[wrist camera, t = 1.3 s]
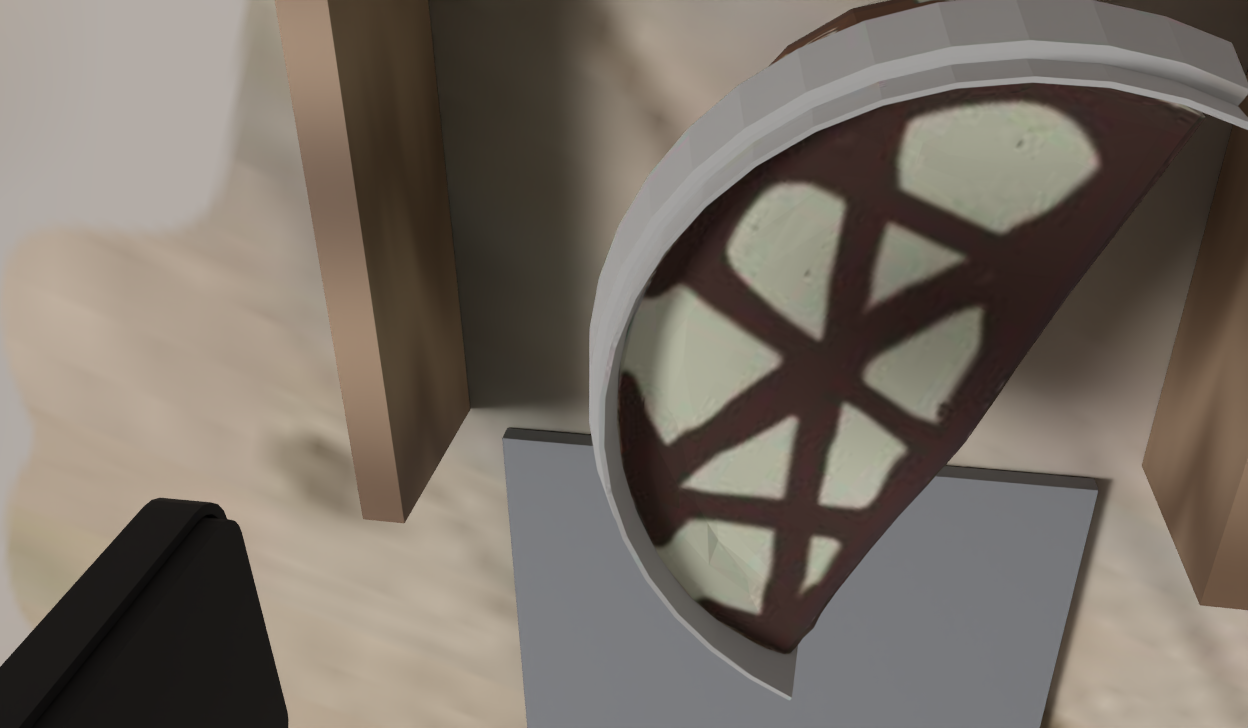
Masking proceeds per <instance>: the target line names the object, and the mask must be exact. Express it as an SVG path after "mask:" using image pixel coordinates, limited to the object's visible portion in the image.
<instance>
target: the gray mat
mask: <svg viewBox="0 0 1248 728" xmlns="http://www.w3.org/2000/svg"><path fill="white" fill-rule="evenodd" d="M502 440H503V452H504V464H505V475H506V487H507V498H508V510H509V521H510V533H511V544H512V556H513V567H514V579H515V591H516V602H517V614H518V625H519V637H520V648H521V660H522V671H523V683H524V694H525V706H526V717H527V728H1040V725H1041V720H1042V716H1043V712H1044V708H1045V704H1046V700H1047V696H1048V692H1049V688H1050V684H1051V680H1052V676H1053V672H1054V668H1055V664H1056V660H1057V656H1058V652H1059V648H1060V644H1061V640H1062V636H1063V632H1064V627H1065V623H1066V619H1067V615H1068V611H1069V607H1070V603H1071V599H1072V595H1073V591H1074V587H1075V583H1076V579H1077V575H1078V571H1079V567H1080V563H1081V559H1082V555H1083V551H1084V547H1085V543H1086V539H1087V534H1088V530H1089V526H1090V522H1091V518H1092V514H1093V510H1094V506H1095V502H1096V498H1097V494H1098V488H1097V485H1096V482H1095V479H1092V478H1081V477H1069V476H1058V475H1046V474H1034V473H1023V472H1011V471H999V470H988V469H976V468H965V467H953V466H944V467H943V468H942V469H941V470H940V472H939V473H938V474H937V475H936V476H935V477H934V478H933V480H932V481H931V482H930V483H929V484H928V485H927V486H926V488H925V489H924V490H923V491H922V492H921V493H920V494H919V495H918V496H917V497H916V498H915V499H914V500H913V502H912V503H911V504H910V505H909V506H908V507H907V508H906V509H905V510H904V511H903V512H902V513H901V514H900V516H899V517H898V518H897V519H896V520H895V521H894V522H893V524H892V525H891V526H890V527H889V528H888V529H887V531H886V532H885V533H884V534H883V535H882V536H881V538H880V539H879V540H878V541H877V542H876V544H875V545H874V546H873V547H872V548H871V549H870V551H869V552H868V553H867V554H866V556H865V557H864V558H863V559H862V561H861V562H860V563H859V564H858V566H857V567H856V568H855V569H854V571H853V572H852V573H851V574H850V576H849V577H848V578H847V579H846V581H845V582H844V583H843V584H842V586H841V587H840V588H839V589H838V591H837V592H836V593H835V595H834V596H833V597H832V599H831V600H830V602H829V603H828V605H827V606H826V607H825V609H824V610H823V612H822V613H821V615H820V617H819V619H818V621H817V623H816V625H815V627H814V628H813V629H812V630H811V631H810V632H809V633H808V634H807V635H806V636H805V637H804V638H803V639H802V640H801V642H800V643H799V644H798V651H797V659H796V668H795V676H794V685H793V693H792V698H791V700H790V701H789V700H787V699H785V698H784V697H782V696H780V695H778V694H776V693H774V692H773V691H771V690H769V689H767V688H765V687H763V686H762V685H760V684H758V683H756V682H754V681H753V680H751V679H749V678H748V677H746V676H745V675H743V674H742V673H741V672H739V671H738V670H736V669H735V668H734V667H732V666H731V665H729V664H728V663H727V662H725V661H724V660H722V659H721V658H720V657H718V656H717V655H716V654H714V653H713V652H711V651H710V650H709V649H708V648H707V647H706V646H705V645H704V644H702V643H701V642H700V641H699V640H698V639H697V638H696V637H695V636H694V635H693V634H692V633H691V632H690V631H689V630H688V629H687V628H686V627H685V626H684V625H682V624H681V623H680V622H679V621H678V620H677V619H676V618H675V617H674V616H673V614H672V613H671V612H670V611H669V609H668V608H667V607H666V605H665V604H664V603H663V602H662V600H661V599H660V598H659V597H658V595H657V594H656V593H655V591H654V590H653V589H652V588H651V586H650V585H649V584H648V583H647V581H646V580H645V578H644V576H643V575H642V573H641V571H640V569H639V567H638V566H637V564H636V562H635V560H634V559H633V557H632V555H631V553H630V551H629V550H628V548H627V546H626V544H625V542H624V541H623V539H622V536H621V533H620V530H619V528H618V525H617V522H616V520H615V518H614V516H613V514H612V511H611V508H610V505H609V502H608V499H607V497H606V494H605V491H604V488H603V485H602V482H601V480H600V477H599V474H598V471H597V466H596V460H595V454H594V448H593V442H592V436H591V435H581V434H570V433H558V432H547V431H535V430H523V429H512V428H507V430H506V432H505V434H504V436H503V438H502Z"/></svg>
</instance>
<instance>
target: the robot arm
mask: <svg viewBox="0 0 1248 728" xmlns="http://www.w3.org/2000/svg"><path fill="white" fill-rule="evenodd" d="M0 728H288V713H287V709H286V705H285V701H284V697H283V693H282V689H281V685H280V681H279V677H278V673H277V669H276V665H275V661H274V657H273V654H272V650H271V646H270V642H269V638H268V634H267V630H266V626H265V622H264V618H263V614H262V610H261V606H260V602H259V598H258V595H257V591H256V587H255V583H254V579H253V575H252V571H251V567H250V563H249V559H248V555H247V551H246V547H245V543H244V539H243V536H242V532H241V529H240V527H239V525H238V524H237V523H236V522H235V521H233V520H227V518H226V515H225V513H224V510H223V509H222V508H221V507H220V506H219V505H218V504H214V503H210V502H199V501H189V500H178V499H168V498H157V499H154V500H151V501H150V502H149V503H148V504H146V505H145V506H144V507H143V508H142V509H141V510H140V511H139V513H138V514H137V515H136V516H135V517H134V518H133V519H132V520H131V521H130V523H129V524H128V525H127V526H126V527H125V528H124V529H123V530H122V532H121V533H120V534H119V535H118V536H117V537H116V538H115V539H114V540H113V542H112V543H111V544H110V545H109V546H108V547H107V548H106V549H105V550H104V552H103V553H102V554H101V555H100V556H99V557H98V558H97V559H96V561H95V562H94V563H93V564H92V565H91V566H90V567H89V568H88V569H87V571H86V572H85V573H84V574H83V575H82V576H81V577H80V578H79V580H78V581H77V582H76V583H75V584H74V585H73V586H72V587H71V588H70V590H69V591H68V592H67V593H66V594H65V595H64V596H63V597H62V599H61V600H60V601H59V602H58V603H57V604H56V605H55V606H54V607H53V609H52V610H51V611H50V612H49V613H48V614H47V615H46V616H45V618H44V619H43V620H42V621H41V622H40V623H39V624H38V625H37V626H36V628H35V629H34V630H33V631H32V632H31V633H30V634H29V635H28V637H27V638H26V639H25V640H24V641H23V642H22V643H21V644H20V646H19V647H18V648H17V649H16V650H15V651H14V652H13V653H12V654H11V656H10V657H9V658H8V659H7V660H6V661H5V662H4V663H3V664H2V666H1V667H0Z"/></svg>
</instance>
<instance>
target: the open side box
mask: <svg viewBox="0 0 1248 728" xmlns="http://www.w3.org/2000/svg"><path fill="white" fill-rule="evenodd" d="M275 5H276V11H277V17H278V23H279V28H280V34H281V40H282V46H283V52H284V58H285V64H286V69H287V75H288V81H289V87H290V93H291V99H292V105H293V111H294V116H295V122H296V128H297V134H298V140H299V146H300V152H301V157H302V163H303V169H304V175H305V181H306V187H307V193H308V198H309V204H310V210H311V216H312V222H313V228H314V234H315V240H316V245H317V251H318V257H319V263H320V269H321V275H322V281H323V286H324V292H325V298H326V304H327V310H328V316H329V322H330V328H331V333H332V339H333V345H334V351H335V357H336V363H337V369H338V374H339V380H340V386H341V392H342V398H343V404H344V410H345V416H346V421H347V427H348V433H349V439H350V445H351V451H352V457H353V462H354V468H355V474H356V480H357V486H358V492H359V498H360V504H361V509H362V515H363V519H368V520H377V521H387V522H397V523H405V521H406V520H407V518H408V516H409V514H410V513H411V511H412V509H413V507H414V506H415V504H416V502H417V501H418V499H419V497H420V495H421V494H422V492H423V490H424V488H425V487H426V485H427V483H428V482H429V480H430V478H431V476H432V475H433V473H434V471H435V469H436V468H437V466H438V464H439V463H440V461H441V459H442V457H443V456H444V454H445V452H446V450H447V449H448V447H449V445H450V443H451V442H452V440H453V438H454V437H455V435H456V433H457V431H458V430H459V428H460V426H461V424H462V423H463V421H464V419H465V418H466V416H467V414H468V412H469V411H470V402H469V393H468V383H467V373H466V363H465V354H464V344H463V334H462V324H461V315H460V305H459V295H458V285H457V276H456V266H455V256H454V246H453V237H452V227H451V217H450V207H449V198H448V188H447V178H446V168H445V159H444V149H443V139H442V129H441V120H440V110H439V100H438V90H437V81H436V71H435V61H434V51H433V42H432V32H431V22H430V12H429V3H428V0H275ZM1246 79H1247V81H1248V71H1247V75H1246ZM1238 107H1239V108H1240V109H1241V110H1242V111H1243V113H1244V114H1245V115H1246V116H1247V117H1248V95H1247V96H1246V97H1245V99H1244V100H1243V101H1242V102H1241V103H1240V104H1239V105H1238ZM1142 467H1143V470H1144V472H1145V474H1146V477H1147V479H1148V482H1149V484H1150V486H1151V489H1152V491H1153V494H1154V496H1155V498H1156V501H1157V503H1158V506H1159V508H1160V510H1161V513H1162V515H1163V518H1164V520H1165V522H1166V525H1167V527H1168V530H1169V532H1170V534H1171V537H1172V539H1173V542H1174V544H1175V546H1176V549H1177V551H1178V554H1179V556H1180V558H1181V561H1182V563H1183V566H1184V568H1185V570H1186V573H1187V575H1188V578H1189V580H1190V582H1191V585H1192V587H1193V590H1194V592H1195V594H1196V597H1197V599H1198V602H1199V604H1200V605H1204V606H1213V607H1223V608H1233V609H1242V610H1248V130H1246V129H1244V128H1241V127H1239V126H1236V125H1234V124H1233V127H1232V131H1231V135H1230V138H1229V142H1228V146H1227V150H1226V153H1225V157H1224V161H1223V165H1222V168H1221V172H1220V176H1219V179H1218V183H1217V187H1216V191H1215V194H1214V198H1213V202H1212V206H1211V209H1210V213H1209V217H1208V221H1207V224H1206V228H1205V232H1204V235H1203V239H1202V243H1201V247H1200V250H1199V254H1198V258H1197V262H1196V265H1195V269H1194V273H1193V276H1192V280H1191V284H1190V288H1189V291H1188V295H1187V299H1186V303H1185V306H1184V310H1183V314H1182V318H1181V321H1180V325H1179V329H1178V332H1177V336H1176V340H1175V344H1174V347H1173V351H1172V355H1171V359H1170V362H1169V366H1168V370H1167V373H1166V377H1165V381H1164V385H1163V388H1162V392H1161V396H1160V400H1159V403H1158V407H1157V411H1156V415H1155V418H1154V422H1153V426H1152V429H1151V433H1150V437H1149V441H1148V444H1147V448H1146V452H1145V456H1144V459H1143V463H1142Z"/></svg>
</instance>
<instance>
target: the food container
mask: <svg viewBox="0 0 1248 728" xmlns="http://www.w3.org/2000/svg"><path fill="white" fill-rule="evenodd" d="M1247 95H1248V81H1247V79H1246V76H1245V74H1244V71H1243V69H1242V66H1241V64H1240V61H1239V59H1238V56H1237V54H1236V51H1235V49H1234V46H1233V44H1232V43H1231V42H1229V41H1226V40H1224V39H1221V38H1219V37H1216V36H1214V35H1211V34H1209V33H1206V32H1204V31H1201V30H1199V29H1196V28H1194V27H1191V26H1189V25H1186V24H1184V23H1181V22H1179V21H1176V20H1174V19H1171V18H1169V17H1166V16H1162V15H1158V14H1153V13H1149V12H1144V11H1140V10H1135V9H1131V8H1126V7H1122V6H1117V5H1113V4H1109V3H1104V2H1100V1H1095V0H889V1H885V2H880V3H876V4H871V5H867V6H862V7H858V8H853V9H851V10H849V11H847V12H846V13H844V14H842V15H840V16H839V17H837V18H835V19H833V20H832V21H830V22H828V23H826V24H825V25H823V26H821V27H820V28H818V29H816V30H814V31H813V32H811V33H809V34H807V35H806V36H804V37H802V38H801V39H799V40H797V41H795V42H794V43H792V44H790V45H788V46H787V47H786V48H785V50H784V51H783V52H782V53H781V54H780V55H779V56H778V57H777V58H776V59H775V60H774V61H773V62H772V63H771V64H770V65H769V67H767V68H766V69H764V70H762V71H761V72H759V73H757V74H756V75H754V76H753V77H751V78H749V79H748V80H746V81H744V82H743V83H741V84H740V85H738V86H737V87H736V88H734V89H733V90H732V91H731V92H730V93H729V94H727V95H726V96H725V97H724V98H723V99H722V100H720V101H719V102H718V103H717V104H716V105H715V106H713V107H712V108H711V109H710V110H709V111H708V112H706V113H705V114H704V115H703V116H702V117H701V118H699V119H698V120H697V121H696V122H695V123H694V124H692V125H691V126H690V127H689V128H688V129H687V130H686V131H685V132H684V134H683V135H682V136H681V137H680V138H679V139H678V141H677V142H676V143H675V144H674V145H673V147H672V148H671V149H670V150H669V151H668V153H667V154H666V155H665V156H664V157H663V158H662V160H661V161H660V162H659V163H658V164H657V166H656V167H655V168H654V169H653V170H652V171H651V173H650V174H649V175H648V177H647V178H646V180H645V182H644V183H643V185H642V187H641V188H640V190H639V192H638V193H637V195H636V197H635V199H634V200H633V202H632V204H631V205H630V207H629V209H628V210H627V212H626V214H625V216H624V217H623V219H622V221H621V222H620V224H619V226H618V228H617V231H616V234H615V236H614V239H613V242H612V244H611V247H610V250H609V252H608V255H607V258H606V260H605V263H604V266H603V268H602V271H601V274H600V276H599V280H598V286H597V291H596V297H595V302H594V307H593V313H592V318H591V324H590V342H589V424H590V430H591V436H592V442H593V448H594V454H595V460H596V466H597V471H598V474H599V477H600V480H601V482H602V485H603V488H604V491H605V494H606V497H607V499H608V502H609V505H610V508H611V511H612V514H613V516H614V518H615V520H616V522H617V525H618V528H619V530H620V533H621V536H622V539H623V541H624V542H625V544H626V546H627V548H628V550H629V551H630V553H631V555H632V557H633V559H634V560H635V562H636V564H637V566H638V567H639V569H640V571H641V573H642V575H643V576H644V578H645V580H646V581H647V583H648V584H649V585H650V586H651V588H652V589H653V590H654V591H655V593H656V594H657V595H658V597H659V598H660V599H661V600H662V602H663V603H664V604H665V605H666V607H667V608H668V609H669V611H670V612H671V613H672V614H673V616H674V617H675V618H676V619H677V620H678V621H679V622H680V623H681V624H682V625H684V626H685V627H686V628H687V629H688V630H689V631H690V632H691V633H692V634H693V635H694V636H695V637H696V638H697V639H698V640H699V641H700V642H701V643H702V644H704V645H705V646H706V647H707V648H708V649H709V650H710V651H711V652H713V653H714V654H716V655H717V656H718V657H720V658H721V659H722V660H724V661H725V662H727V663H728V664H729V665H731V666H732V667H734V668H735V669H736V670H738V671H739V672H741V673H742V674H743V675H745V676H746V677H748V678H749V679H751V680H753V681H754V682H756V683H758V684H760V685H762V686H763V687H765V688H767V689H769V690H771V691H773V692H774V693H776V694H778V695H780V696H782V697H784V698H785V699H787V700H789V701H790V700H791V698H792V693H793V685H794V676H795V668H796V659H797V651H798V644H799V643H800V642H801V640H802V639H803V638H804V637H805V636H806V635H807V634H808V633H809V632H810V631H811V630H812V629H813V628H814V627H815V625H816V623H817V621H818V619H819V617H820V615H821V613H822V612H823V610H824V609H825V607H826V606H827V605H828V603H829V602H830V600H831V599H832V597H833V596H834V595H835V593H836V592H837V591H838V589H839V588H840V587H841V586H842V584H843V583H844V582H845V581H846V579H847V578H848V577H849V576H850V574H851V573H852V572H853V571H854V569H855V568H856V567H857V566H858V564H859V563H860V562H861V561H862V559H863V558H864V557H865V556H866V554H867V553H868V552H869V551H870V549H871V548H872V547H873V546H874V545H875V544H876V542H877V541H878V540H879V539H880V538H881V536H882V535H883V534H884V533H885V532H886V531H887V529H888V528H889V527H890V526H891V525H892V524H893V522H894V521H895V520H896V519H897V518H898V517H899V516H900V514H901V513H902V512H903V511H904V510H905V509H906V508H907V507H908V506H909V505H910V504H911V503H912V502H913V500H914V499H915V498H916V497H917V496H918V495H919V494H920V493H921V492H922V491H923V490H924V489H925V488H926V486H927V485H928V484H929V483H930V482H931V481H932V480H933V478H934V477H935V476H936V475H937V474H938V473H939V472H940V470H941V469H942V468H943V467H944V466H945V465H946V464H947V462H948V461H949V460H950V459H951V458H952V457H953V456H954V455H955V454H956V453H957V451H958V450H959V449H960V448H961V447H962V445H963V444H964V443H965V442H966V440H967V439H968V438H969V436H970V435H971V433H972V432H973V430H974V429H975V428H976V426H977V425H978V423H979V422H980V420H981V419H982V418H983V416H984V415H985V413H986V412H987V411H988V409H989V408H990V406H991V405H992V403H993V402H994V401H995V399H996V398H997V396H998V395H999V393H1000V392H1001V390H1002V389H1003V387H1004V386H1005V384H1006V383H1007V381H1008V380H1009V378H1010V377H1011V375H1012V374H1013V372H1014V371H1015V369H1016V368H1017V366H1018V365H1019V364H1020V362H1021V361H1022V359H1023V358H1024V357H1025V355H1026V354H1027V352H1028V351H1029V350H1030V348H1031V347H1032V345H1033V344H1034V343H1035V341H1036V340H1037V338H1038V337H1039V336H1040V334H1041V333H1042V331H1043V330H1044V329H1045V327H1046V326H1047V324H1048V323H1049V322H1050V320H1051V319H1052V317H1053V316H1054V315H1055V313H1056V312H1057V310H1058V309H1059V308H1060V306H1061V305H1062V303H1063V302H1064V301H1065V299H1066V298H1067V296H1068V295H1069V294H1070V292H1071V291H1072V290H1073V288H1074V287H1075V286H1076V284H1077V283H1078V282H1079V281H1080V279H1081V278H1082V277H1083V275H1084V274H1085V273H1086V272H1087V270H1088V269H1089V268H1090V266H1091V265H1092V264H1093V262H1094V261H1095V260H1096V259H1097V257H1098V256H1099V255H1100V253H1101V252H1102V251H1103V250H1104V248H1105V247H1106V246H1107V244H1108V243H1109V242H1110V240H1111V239H1112V238H1113V237H1114V235H1115V234H1116V233H1117V231H1118V230H1119V229H1120V228H1121V226H1122V225H1123V224H1124V222H1125V221H1126V220H1127V218H1128V217H1129V216H1130V215H1131V213H1132V212H1133V211H1134V209H1135V208H1136V207H1137V206H1138V204H1139V203H1140V202H1141V200H1142V199H1143V198H1144V196H1145V195H1146V194H1147V193H1148V191H1149V190H1150V189H1151V187H1152V186H1153V185H1154V184H1155V182H1156V181H1157V180H1158V178H1159V177H1160V176H1161V175H1162V173H1163V172H1164V171H1165V169H1166V168H1167V167H1168V166H1169V164H1170V163H1171V162H1172V160H1173V159H1174V158H1175V156H1176V155H1177V154H1178V153H1179V151H1180V150H1181V149H1182V147H1183V146H1184V145H1185V144H1186V142H1187V141H1188V140H1189V138H1190V137H1191V136H1192V135H1193V133H1194V132H1195V131H1196V129H1197V128H1198V127H1199V126H1200V124H1201V123H1202V122H1203V120H1204V119H1205V118H1206V117H1205V115H1204V114H1203V113H1206V114H1208V115H1211V116H1213V117H1216V118H1219V119H1221V120H1224V121H1226V122H1229V123H1231V124H1234V125H1236V126H1239V127H1241V128H1244V129H1246V130H1248V117H1247V116H1246V115H1245V114H1244V113H1243V111H1242V110H1241V109H1240V108H1239V107H1238V105H1239V104H1240V103H1241V102H1242V101H1243V100H1244V99H1245V97H1246V96H1247ZM1202 112H1203V113H1202Z"/></svg>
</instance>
